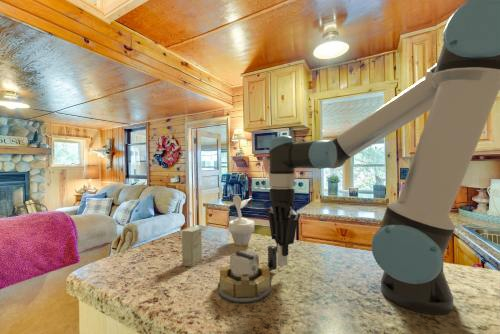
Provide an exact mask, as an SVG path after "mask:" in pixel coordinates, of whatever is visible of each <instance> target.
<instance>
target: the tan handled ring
mask: <svg viewBox="0 0 500 334" xmlns="http://www.w3.org/2000/svg"><path fill="white" fill-rule="evenodd" d="M219 269H220V270H219V282H220V290H222V291H224V292H226V293H227V294H229V295H231V296H233V297H234V296H235V297H252V296H255V295H257V296H258V295H259V294H261V293H262V292H264V291H266V290H267V289H269V287H270V282H271V275H270V272H271V271H273V270H277V269H278V265H277V249H276V246H275V245H269V246H267V265H262V264H260V263H259V277H258V278H256V279H255V280H253V281H249V276H241V281H236V280H234V279H232V278H230V264H228V265H227V266H224V267H223V266H221V267H220V268H219Z"/></svg>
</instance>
